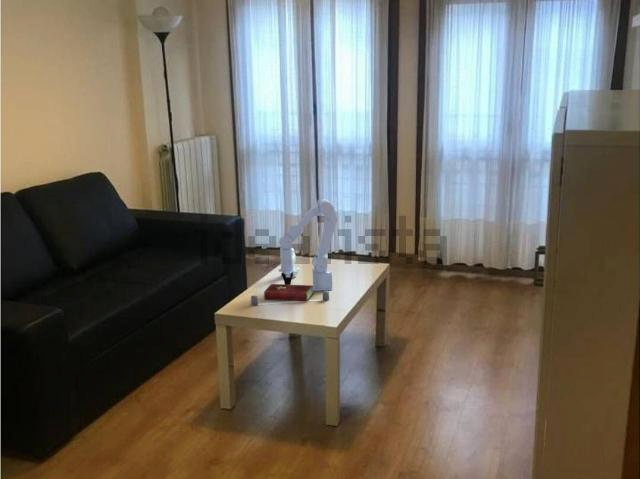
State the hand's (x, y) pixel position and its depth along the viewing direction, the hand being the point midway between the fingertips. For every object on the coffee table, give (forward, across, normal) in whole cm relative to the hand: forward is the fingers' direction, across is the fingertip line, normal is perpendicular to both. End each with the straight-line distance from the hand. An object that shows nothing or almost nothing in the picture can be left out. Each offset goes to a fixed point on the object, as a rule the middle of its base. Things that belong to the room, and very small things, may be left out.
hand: (287, 287), depth 318 cm
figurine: (+2, -24, +4) cm, 24 cm away
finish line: (+2, +16, 0) cm, 16 cm away
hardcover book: (+2, +8, 0) cm, 9 cm away
